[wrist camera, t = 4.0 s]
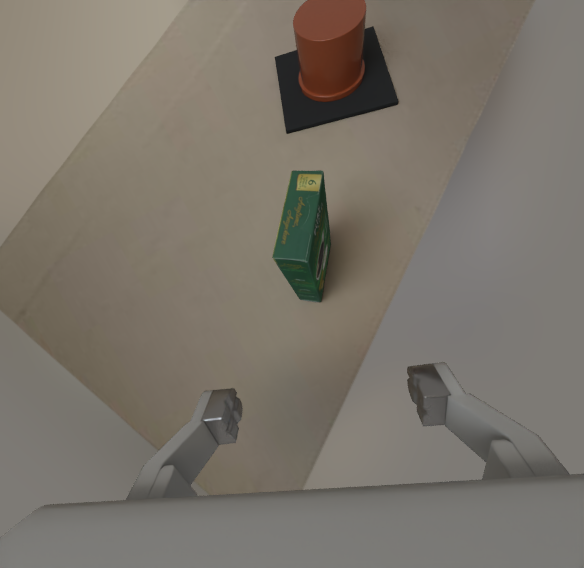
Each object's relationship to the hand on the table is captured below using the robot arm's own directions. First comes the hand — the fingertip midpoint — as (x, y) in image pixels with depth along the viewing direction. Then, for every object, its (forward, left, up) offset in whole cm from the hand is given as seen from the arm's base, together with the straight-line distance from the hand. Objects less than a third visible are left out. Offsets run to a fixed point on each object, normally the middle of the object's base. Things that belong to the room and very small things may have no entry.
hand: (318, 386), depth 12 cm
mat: (-7, -42, -17) cm, 45 cm away
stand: (-7, -42, -16) cm, 45 cm away
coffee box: (0, -12, -17) cm, 21 cm away
